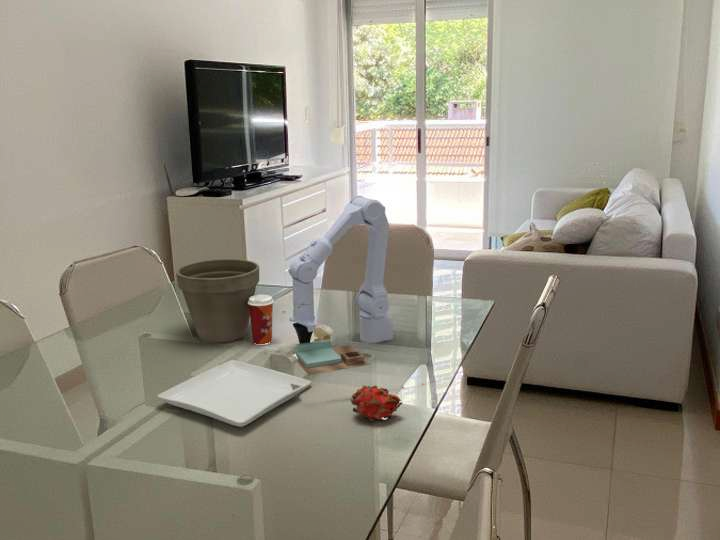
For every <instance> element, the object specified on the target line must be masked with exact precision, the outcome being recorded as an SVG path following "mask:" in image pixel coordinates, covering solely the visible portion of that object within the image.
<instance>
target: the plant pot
mask: <svg viewBox="0 0 720 540" xmlns="http://www.w3.org/2000/svg"><path fill="white" fill-rule="evenodd" d="M175 275H176V282H177V287H178V289H180V290H181V292H182V295H183V298H184V300H185V304H186V306H187V309H188V312H189V316H190V318H191V320H192V323H193V327H194V329H195V331H196V334H197V336H198V338H199V339H200V340H202V341H203V342H207V343H217V344H218V343H219V344H220V343H221V344H222V343H230V342H233V341H237V340H239V339H242V338H243V337H245V336H246V334H247V331H248V326H249V323H250V311H249V304H248V301H249V298H250V297H251V296H254V295H256V290H257V289H256V288H257V285H258V284H259V283H260V265H259V264H258V263H257V262H255V261H252V260H246V259H240V258H217V259H205V260H200V261H193V262H191V263H186V264H185V265H181V266H180V267H178V268H177V269H176V271H175Z"/></svg>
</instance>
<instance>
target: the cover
mask: <svg viewBox="0 0 720 540" xmlns="http://www.w3.org/2000/svg"><path fill="white" fill-rule="evenodd" d="M331 347H332V341H331V339H330V340H322V341H318V340H316V341H310V342H308V343H302V344H299V343H297V344H295V353H296V355H297V357H298V358H299V359H300V360H301V362H302V363H303V364H304V365H305V366H306V367H307V368H311V367H317V366H323V365H329V364H335V363H341V362H342V358H341V357H340V356H339V355H338V354H337V353H336V352H335V351H334V350H333V349H332V348H331Z"/></svg>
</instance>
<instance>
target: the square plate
mask: <svg viewBox="0 0 720 540" xmlns="http://www.w3.org/2000/svg"><path fill="white" fill-rule="evenodd" d="M312 384H313V383H312V381H311V380H309V379H305V378H302V377H298V376H295V375H292V374H288V373H285V372H282V371H279V370H278V371H277V370H274V369H270V368H268V367H263V366H259V365H256V364H251V363H248V362H247V363H246V362H243V361H238V360H234V359H231V360H228V361H226V362H223V363H220V364H218V365H217V366H214V367H211V368H210V369H208V370H206V371H203V372H201V373H199V374H197V375H195V376H193V377H191V378H189V379H187V380H184V381H182V382H181V383H178V384H177V385H174V386H173V387H171V388H169V389H167V390H165V391H162V392H160V393H159V394H158V395H157V397H156V398H159V399H160V400H162V401H163V402H164V403H166V404H169V405H171V406H175V407H177V408H181V409H183V410H188V411H190V410H191V412H193V413H197V414H201V415H203V416H207V417H210V418H213V419H215V420H218V421H221V422H223V423H226V424H228V425H232V426H236V427H240V428H241V427H242V428H243V427H245V426H246V425H248V424H250V423H252V422H254V421H255V420H257V419H258V418H259V417H261V416H264V415H265V414H266V413H268V412H271V410H274V409H275V408H277V407H278V406H280V405H282V404H283V403H286V402H287V401H290V400H291V399H293V398H295V397H296V396H298V395H299V394H300V393H301V392H303V391H305V390H306V389H308V388H309V387H310V386H311V385H312ZM293 385H295V386H299V387H297V388H294V386H293Z"/></svg>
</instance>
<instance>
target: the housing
mask: <svg viewBox="0 0 720 540" xmlns="http://www.w3.org/2000/svg"><path fill="white" fill-rule="evenodd" d="M331 348H332V349H333V350H334V351H335V352H336V353H337V354H338V355H339V356H340V357H341V358H342V362H341V363H335V364H329V365H323V366H317V367H311V368H307V367H306V366H305V365H304V364H303V363H302V362H301V360H300V359H299V358H298V360H297V361H296V362H297V363H298V364H299V366H300V367H301V368H302V369H303V370H304V371H305V372H306V374H307V375H308V376H310V375H316V374H321V373H322V374H323V373H329V372H334V371H341V370H346V369H352V368H358V367H364V366H369V365H370V366H371V365H372V363H371V362H370V361H369V360H367V359H366V358H365V356H364V355H363V354H362V352H360V351H359V350H358V349H355V348H354V346H352V345H351V344H345V345H337V346H333V347H332V346H331Z"/></svg>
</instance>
